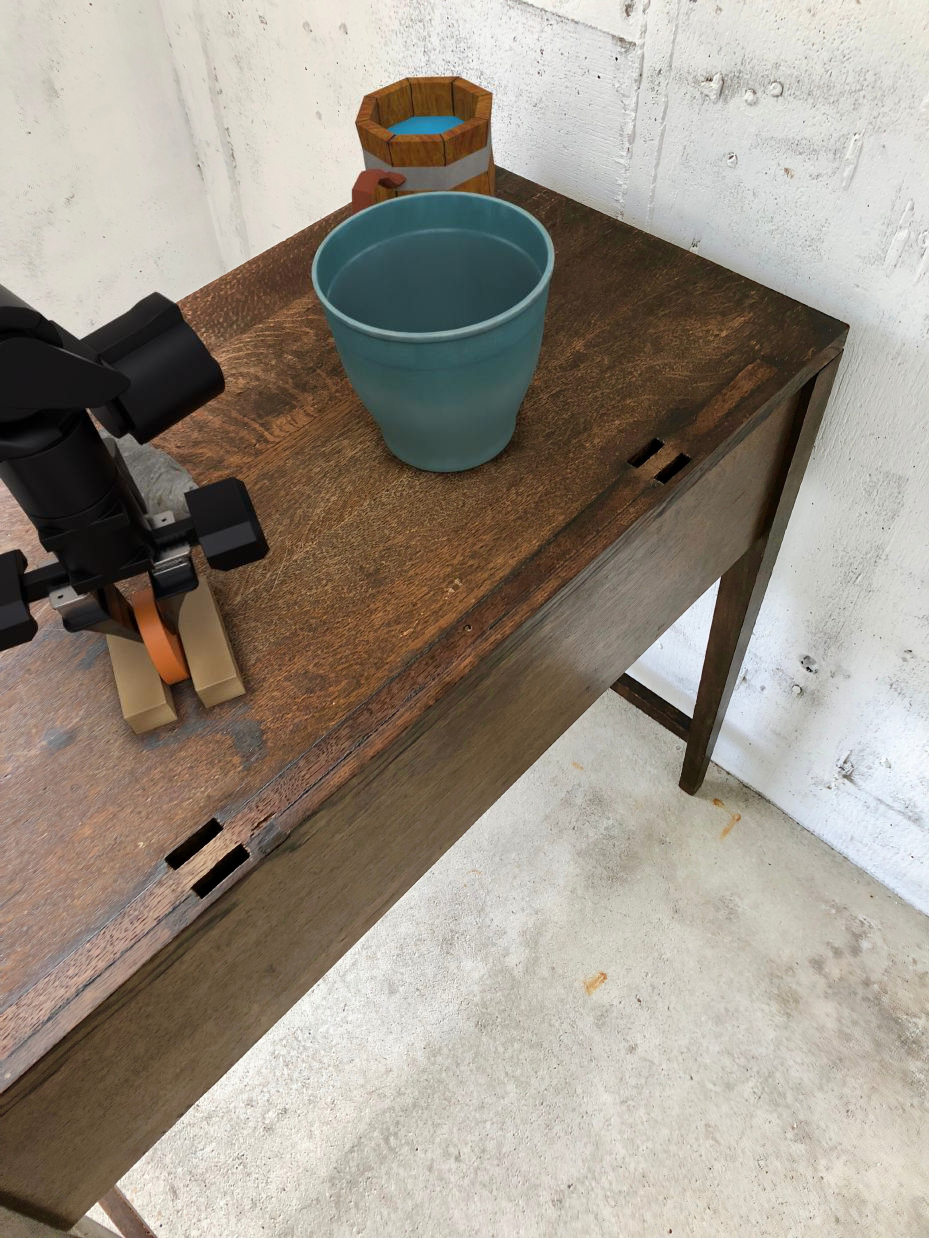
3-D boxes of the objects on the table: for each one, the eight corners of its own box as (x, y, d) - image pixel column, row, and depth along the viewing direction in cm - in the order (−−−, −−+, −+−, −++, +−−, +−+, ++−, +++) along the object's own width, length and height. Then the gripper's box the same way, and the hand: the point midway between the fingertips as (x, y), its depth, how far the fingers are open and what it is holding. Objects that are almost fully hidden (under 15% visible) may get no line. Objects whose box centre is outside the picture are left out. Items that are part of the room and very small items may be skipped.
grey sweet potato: (117, 414, 78) (88, 371, 70) (226, 515, 77) (209, 483, 70) (63, 462, 77) (27, 424, 69) (173, 565, 76) (149, 538, 68)
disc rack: (137, 735, 62) (123, 718, 60) (113, 630, 68) (100, 612, 66) (246, 693, 64) (236, 675, 62) (214, 594, 69) (205, 575, 67)
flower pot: (558, 497, 73) (564, 324, 59) (344, 510, 74) (300, 342, 60) (543, 358, 83) (545, 183, 70) (355, 370, 84) (320, 199, 70)
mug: (416, 208, 100) (399, 65, 88) (522, 234, 96) (521, 87, 83) (321, 306, 90) (288, 160, 78) (434, 339, 86) (418, 190, 74)
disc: (178, 701, 64) (144, 652, 58) (158, 628, 68) (124, 575, 62) (198, 694, 64) (166, 644, 58) (177, 621, 68) (145, 567, 62)
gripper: (194, 353, 56) (257, 516, 69) (-105, 445, 53) (19, 598, 66) (237, 464, 50) (297, 620, 63) (-99, 576, 47) (36, 717, 60)
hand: (161, 634), depth 63 cm, fingers closed on disc, 1 cm apart
